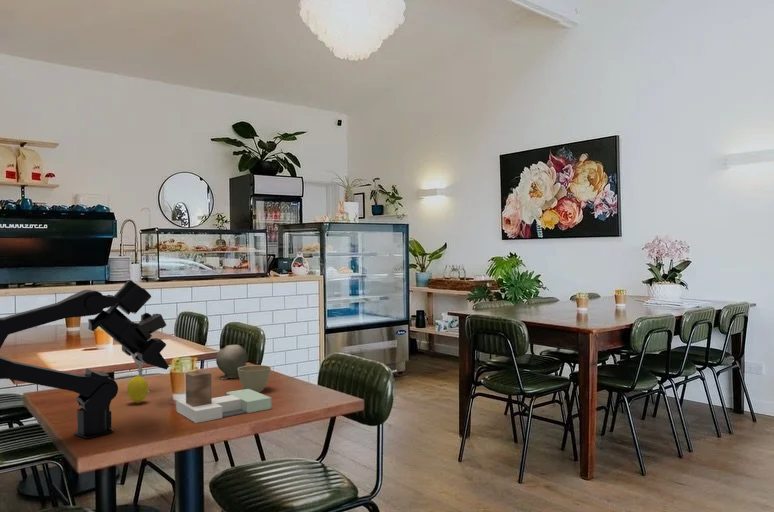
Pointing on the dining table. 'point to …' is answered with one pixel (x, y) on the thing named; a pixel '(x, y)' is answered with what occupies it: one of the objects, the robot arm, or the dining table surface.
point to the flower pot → (254, 377)
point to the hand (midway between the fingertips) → (167, 367)
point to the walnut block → (198, 388)
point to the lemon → (137, 389)
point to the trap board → (225, 406)
